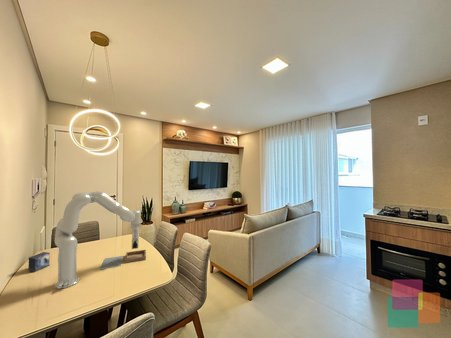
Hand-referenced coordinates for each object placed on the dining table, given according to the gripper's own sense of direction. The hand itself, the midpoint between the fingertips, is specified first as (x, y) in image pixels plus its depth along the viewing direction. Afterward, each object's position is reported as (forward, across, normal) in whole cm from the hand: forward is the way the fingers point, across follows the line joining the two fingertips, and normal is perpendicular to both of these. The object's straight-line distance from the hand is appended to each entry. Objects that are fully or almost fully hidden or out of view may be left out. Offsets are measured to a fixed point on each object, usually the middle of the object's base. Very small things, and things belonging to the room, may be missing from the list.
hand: (135, 246), depth 166 cm
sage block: (+1, 0, 0) cm, 1 cm away
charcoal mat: (+10, -2, +16) cm, 19 cm away
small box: (+11, +9, +67) cm, 69 cm away
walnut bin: (+10, 0, -1) cm, 10 cm away
